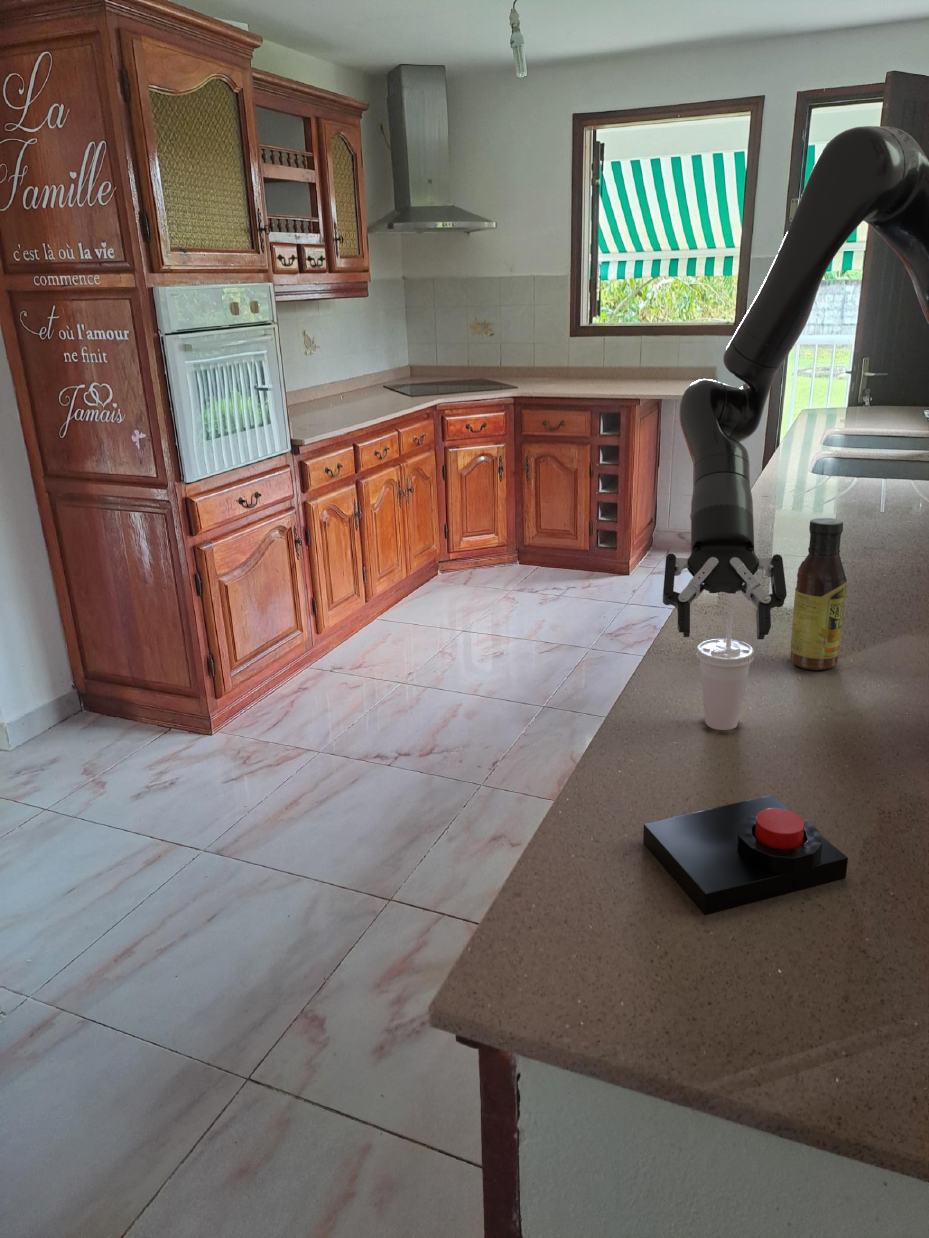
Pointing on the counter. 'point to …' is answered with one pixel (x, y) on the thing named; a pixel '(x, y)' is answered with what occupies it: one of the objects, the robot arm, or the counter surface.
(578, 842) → the counter surface
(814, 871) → the push button box
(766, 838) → the timer button
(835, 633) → the sauce bottle
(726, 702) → the smoothie
